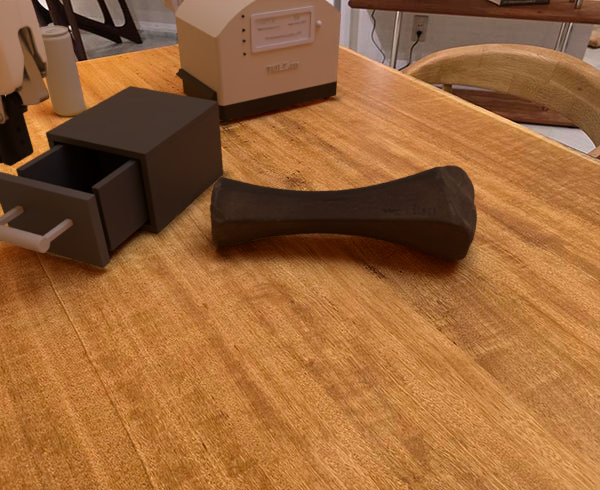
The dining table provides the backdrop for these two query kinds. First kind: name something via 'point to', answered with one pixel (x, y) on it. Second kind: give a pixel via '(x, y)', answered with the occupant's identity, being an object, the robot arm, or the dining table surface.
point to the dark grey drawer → (73, 203)
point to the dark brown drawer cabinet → (154, 144)
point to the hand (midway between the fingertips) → (14, 157)
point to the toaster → (257, 52)
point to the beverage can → (62, 72)
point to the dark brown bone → (355, 212)
